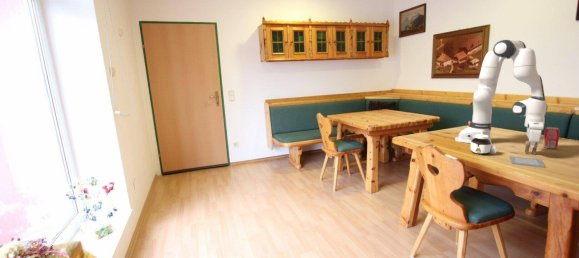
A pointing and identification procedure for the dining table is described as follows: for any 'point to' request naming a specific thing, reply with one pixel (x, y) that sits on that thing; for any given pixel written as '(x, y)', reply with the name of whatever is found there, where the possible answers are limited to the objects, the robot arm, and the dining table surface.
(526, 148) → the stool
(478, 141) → the spread jar
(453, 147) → the dining table surface
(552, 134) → the soda can
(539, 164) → the pad
